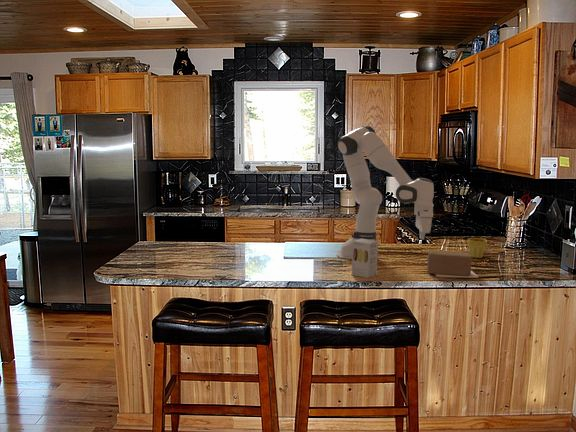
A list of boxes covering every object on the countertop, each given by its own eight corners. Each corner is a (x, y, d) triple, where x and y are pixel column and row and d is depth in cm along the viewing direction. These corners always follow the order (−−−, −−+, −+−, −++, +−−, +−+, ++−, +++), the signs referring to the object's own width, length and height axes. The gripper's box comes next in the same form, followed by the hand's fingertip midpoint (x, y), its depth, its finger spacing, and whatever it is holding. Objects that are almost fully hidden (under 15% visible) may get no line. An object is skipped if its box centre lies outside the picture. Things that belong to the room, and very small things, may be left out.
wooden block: (427, 274, 277) (470, 276, 274) (429, 253, 276) (472, 256, 272) (427, 269, 287) (468, 272, 283) (428, 249, 286) (469, 252, 282)
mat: (436, 276, 275) (436, 275, 275) (429, 268, 291) (429, 267, 291) (478, 277, 275) (478, 276, 275) (469, 269, 290) (469, 268, 290)
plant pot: (479, 259, 315) (480, 242, 314) (463, 256, 323) (464, 239, 322) (489, 257, 322) (490, 240, 321) (473, 253, 330) (474, 237, 328)
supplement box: (350, 275, 275) (352, 240, 272) (359, 271, 282) (361, 237, 280) (368, 278, 269) (370, 243, 267) (377, 274, 277) (378, 240, 274)
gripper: (413, 208, 289) (411, 235, 291) (420, 214, 269) (419, 242, 271) (425, 208, 289) (424, 235, 291) (434, 214, 269) (432, 243, 271)
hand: (421, 239), depth 281 cm, fingers closed
